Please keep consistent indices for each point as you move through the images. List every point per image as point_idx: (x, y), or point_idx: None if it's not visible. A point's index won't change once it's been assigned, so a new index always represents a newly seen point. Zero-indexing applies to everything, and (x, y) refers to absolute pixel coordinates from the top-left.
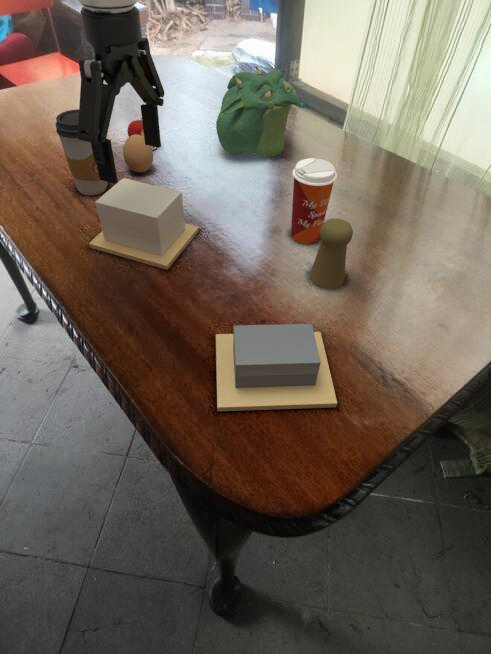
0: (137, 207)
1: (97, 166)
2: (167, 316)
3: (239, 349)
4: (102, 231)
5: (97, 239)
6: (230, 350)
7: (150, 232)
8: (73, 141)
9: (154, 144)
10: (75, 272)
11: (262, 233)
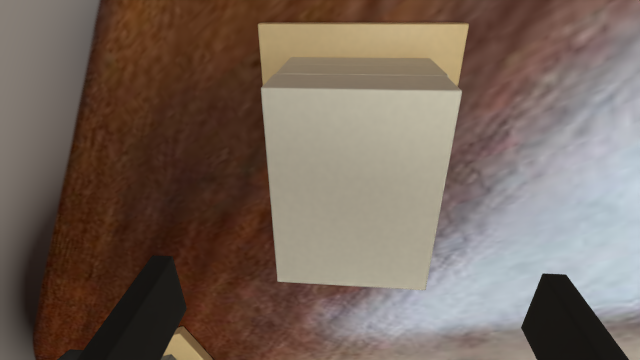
0: (297, 223)
1: (117, 304)
2: (178, 263)
3: None
4: (322, 26)
5: (283, 36)
6: (167, 351)
7: None
8: None
9: (532, 321)
10: (167, 49)
11: (456, 325)
